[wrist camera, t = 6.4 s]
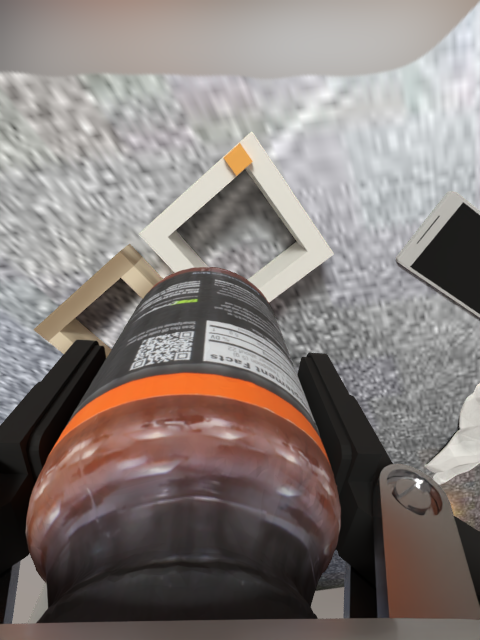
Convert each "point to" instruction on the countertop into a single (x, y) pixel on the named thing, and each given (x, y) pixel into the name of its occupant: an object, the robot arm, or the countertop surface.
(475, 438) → the cloth
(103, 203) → the countertop surface
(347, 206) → the countertop surface
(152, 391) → the supplement bottle
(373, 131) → the countertop surface
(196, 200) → the socket block
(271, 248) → the countertop surface
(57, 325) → the block
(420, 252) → the smartphone
